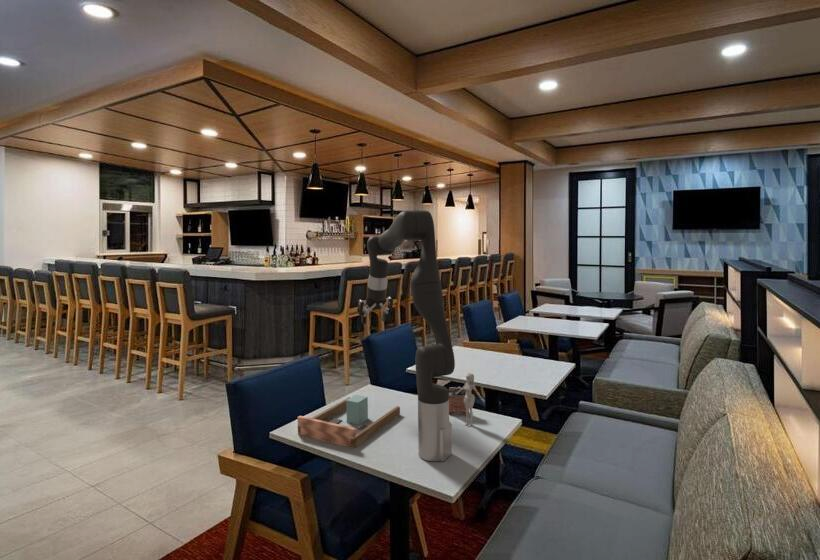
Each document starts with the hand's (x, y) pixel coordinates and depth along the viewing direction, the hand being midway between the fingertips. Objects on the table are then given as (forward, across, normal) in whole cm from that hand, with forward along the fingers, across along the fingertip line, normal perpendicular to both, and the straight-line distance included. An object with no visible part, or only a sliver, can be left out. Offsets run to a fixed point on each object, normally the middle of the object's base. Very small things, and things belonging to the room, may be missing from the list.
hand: (374, 322), depth 186 cm
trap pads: (+21, -22, -32) cm, 44 cm away
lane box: (+22, -19, -30) cm, 42 cm away
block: (+22, -16, -28) cm, 39 cm away
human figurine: (+16, +17, -49) cm, 55 cm away
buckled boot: (+20, +18, -40) cm, 48 cm away
